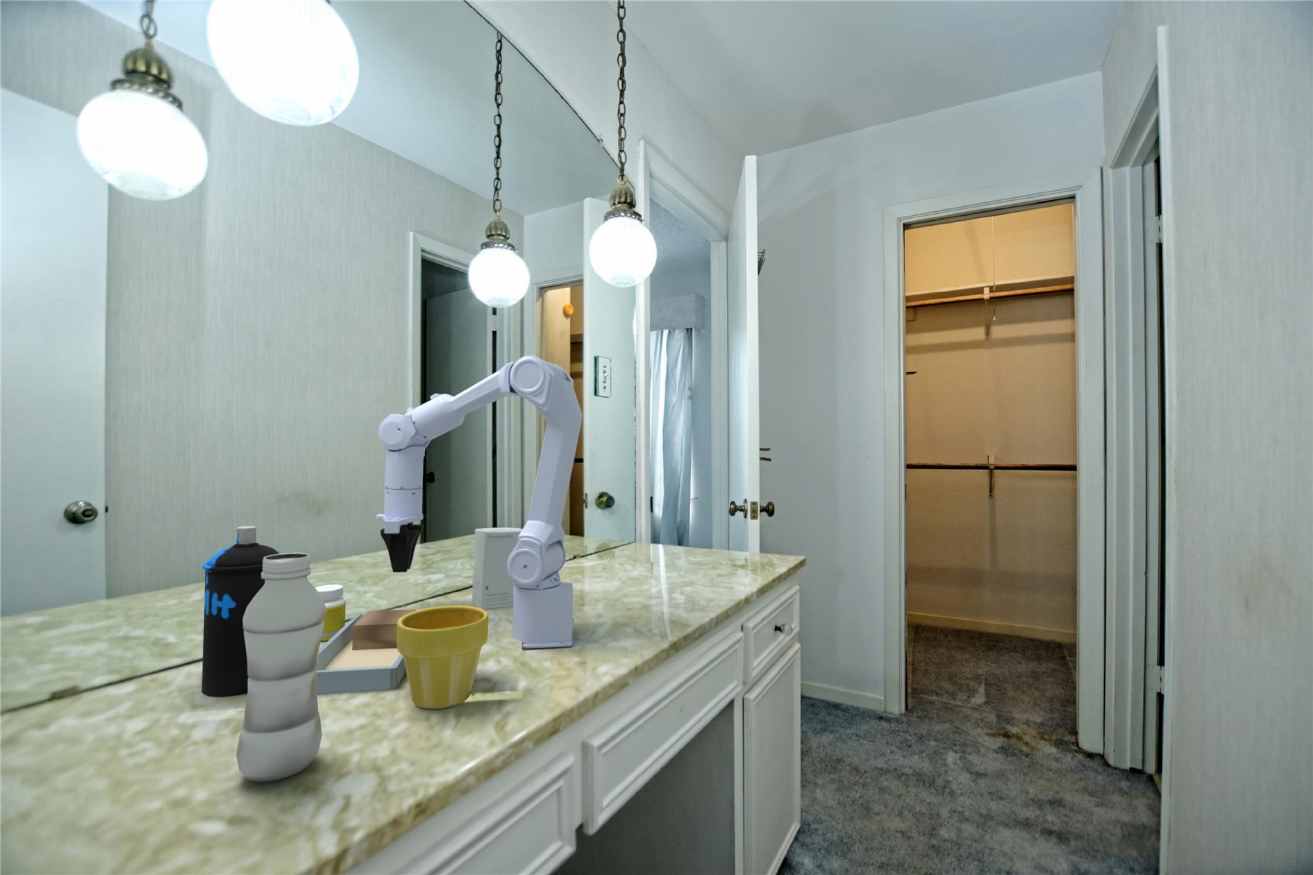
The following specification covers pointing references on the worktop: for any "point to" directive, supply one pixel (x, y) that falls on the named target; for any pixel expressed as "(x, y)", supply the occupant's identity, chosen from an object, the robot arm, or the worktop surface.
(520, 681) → the worktop surface
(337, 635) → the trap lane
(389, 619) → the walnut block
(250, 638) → the plastic bottle
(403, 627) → the plant pot
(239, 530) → the aerosol can
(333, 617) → the supplement bottle
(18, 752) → the worktop surface
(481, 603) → the skincare box
